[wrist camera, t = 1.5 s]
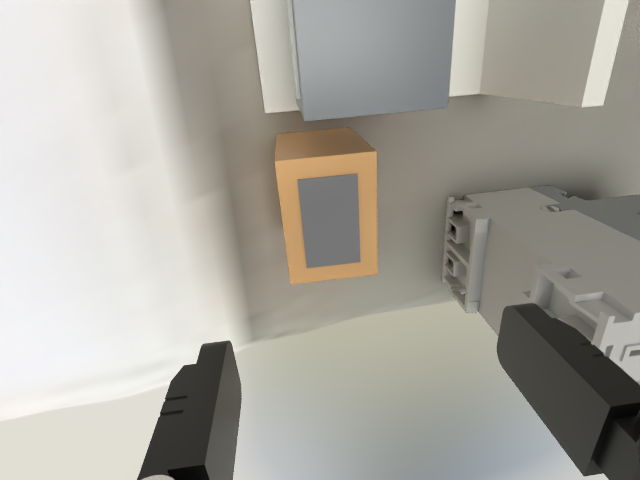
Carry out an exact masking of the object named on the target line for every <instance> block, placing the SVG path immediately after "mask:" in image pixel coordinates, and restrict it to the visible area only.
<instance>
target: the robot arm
mask: <svg viewBox="0 0 640 480" xmlns="http://www.w3.org/2000/svg"><path fill="white" fill-rule="evenodd" d="M497 354H498V358H499V361H500V364H501V365H502V367H503V369H504V370H505V371H506V373H507V374H508V375H509V377H510V378H511V379H512V381H513V382H514V383H515V385H516V386H517V387H518V389H519V390H520V392H521V393H522V394H523V396H524V397H525V398H526V399H527V401H528V402H529V404H530V405H531V406H532V407H533V409H534V410H535V411H536V413H537V414H538V416H539V417H540V418H541V420H542V421H543V422H544V424H545V425H546V426H547V428H548V429H549V430H550V431H551V433H552V434H553V436H554V437H555V438H556V440H557V441H558V442H559V444H560V445H561V446H562V448H563V449H564V450H565V452H566V453H567V454H568V456H569V457H570V458H571V460H572V461H573V462H574V464H575V465H576V466H577V468H578V469H579V470H580V472H581V473H582V474H583V476H589V475H596V474H602V473H604V474H605V475H606V477H607V478H608V479H609V480H640V385H639V384H638V383H637V382H636V381H635V380H634V379H633V378H632V377H630V376H629V375H628V374H627V373H626V372H625V371H624V370H622V369H621V368H620V367H619V366H618V365H617V364H616V363H614V362H613V361H612V360H611V359H610V358H609V357H608V356H604V353H603V352H602V351H601V350H600V349H598V348H597V347H596V346H595V345H592V344H591V341H589V340H588V339H587V338H586V337H585V336H584V335H583V334H581V333H580V332H579V331H578V330H577V329H576V328H574V327H572V326H570V325H568V324H566V323H564V322H563V321H561V320H559V319H557V318H551V317H550V316H549V315H548V314H547V313H546V312H545V311H544V310H542V309H541V308H540V307H539V306H538V305H537V304H535V303H526V304H519V305H511V306H506V307H505V308H504V310H503V313H502V319H501V325H500V331H499V337H498V343H497ZM165 399H166V400H165V402H164V404H163V406H162V409H161V412H160V417H159V418H158V421H157V424H156V427H155V430H154V433H153V436H152V439H151V441H150V445H149V447H148V450H147V453H146V456H145V459H144V462H143V465H142V468H141V471H140V474H139V476H138V478H137V480H233V472H234V462H235V453H236V445H237V436H238V427H239V418H240V409H241V383H240V378H239V374H238V369H237V365H236V360H235V356H234V352H233V347H232V344H231V342H230V341H222V342H214V343H206V344H203V345H202V346H201V349H200V353H199V356H198V360H197V363H196V364H192V365H184V366H183V367H182V368H181V370H180V371H179V372H178V373H177V375H176V376H175V377H174V378H173V380H172V381H171V383H170V386H169V389H168V392H167V395H166V398H165Z"/></svg>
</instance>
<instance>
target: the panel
mask: <svg viewBox="0 0 640 480" xmlns="http://www.w3.org/2000/svg"><path fill="white" fill-rule="evenodd" d="M628 2H629V0H456V6H455V20H454V34H453V47H452V61H451V75H450V89H449V97H450V96H461V95H472V94H484V95H492V96H499V97H507V98H514V99H522V100H529V101H537V102H544V103H552V104H559V105H567V106H574V107H591V106H602V105H603V104H604V100H605V96H606V92H607V88H608V84H609V80H610V76H611V71H612V67H613V63H614V59H615V55H616V51H617V47H618V43H619V39H620V35H621V31H622V27H623V22H624V18H625V14H626V10H627V6H628ZM250 4H251V11H252V19H253V26H254V34H255V41H256V48H257V56H258V63H259V71H260V78H261V86H262V93H263V101H264V108H265V113H275V112H286V111H297V110H299V108H298V106H297V104H296V96H295V86H294V75H293V65H292V55H291V45H290V35H289V24H288V14H287V4H286V0H250Z"/></svg>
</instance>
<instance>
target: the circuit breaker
mask: <svg viewBox="0 0 640 480" xmlns="http://www.w3.org/2000/svg"><path fill="white" fill-rule="evenodd" d="M566 196H567V192H565V191H562V190H560V189H558V188H555V187H553V186H551V185H546V186H537V187H528V188H520V189H511V190H502V191H494V192H485V193H476V194H468V195H464V200H456V201H454V199H455V198H454V197H453V196H450V197H447V208H446V222H445V236H444V251H443V265H442V282H443V283H445V282H446V283H447V284H448V285H449V291H450V292H451V294H452V295H453V296H454V298H455V299H456V300H457V301H458V303H459V304H460V305H461V307H462V308H463V309H464V311H465V312H466V313H476V312H477V311H478V312H479V313H480V314H481V315H482V317H483V318H484V319H485V320H486V322H487V323H488V324H489V325H490V327H491V328H492V329H493V330H494V331H495V333H496V334H497V335H498V336H499V331H500V325H501V319H502V313H503V310H504V308H505V307H506V306H511V305H519V304H526V303H535V304H537V305H538V306H539V307H540V308H541V309H542V310H544V311H545V312H546V313H547V314H548V315H549V316H550V317H551V318H557V319H559V320H561V321H563V322H564V323H566V324H568V325H570V326H572V327H574V328H576V329H577V330H578V331H579V332H580V333H581V334H583V335H584V336H585V337H586V338H587V339H588V340H589V341H591V344H592V345H595V346H596V347H597V348H598V349H600V350H601V351H602V352H603V353H604V356H608V357H609V358H610V359H611V360H612V361H613V362H614V363H616V364H617V365H618V366H619V367H620V368H621V369H622V370H624V371H625V372H626V373H627V374H628V375H629V376H630V377H632V378H633V379H634V380H635V381H636V382H637V383H638V384H639V385H640V195H632V196H623V197H614V198H605V199H596V200H588V201H586V200H583V199H581V198H579V197H576V196H572V197H570V198H567V197H566ZM453 210H455V211H463V214H454V215H453ZM451 224H452V225H454V226H455V231H451ZM449 258H450V259H451V260H452V262H449ZM464 291H466V294H463V295H461V294H460V292H464Z"/></svg>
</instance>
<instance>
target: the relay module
mask: <svg viewBox="0 0 640 480" xmlns="http://www.w3.org/2000/svg"><path fill="white" fill-rule="evenodd" d="M275 169H276V177H277V184H278V192H279V200H280V207H281V215H282V223H283V230H284V238H285V246H286V253H287V261H288V269H289V276H290V284H299V283H307V282H316V281H325V280H333V279H342V278H350V277H359V276H367V275H376V274H378V237H377V151H376V150H375V149H374V148H372V147H371V146H370V145H369V144H368V143H367V142H366V141H364V140H363V139H362V138H361V137H360V136H359V135H358V134H356V133H355V132H354V131H353V130H352V129H351V128H350V127H347V128H336V129H326V130H315V131H304V132H294V133H283V134H276V146H275Z"/></svg>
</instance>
